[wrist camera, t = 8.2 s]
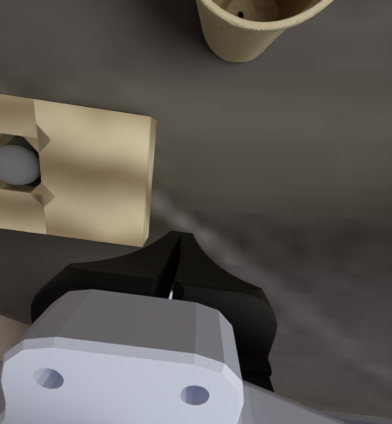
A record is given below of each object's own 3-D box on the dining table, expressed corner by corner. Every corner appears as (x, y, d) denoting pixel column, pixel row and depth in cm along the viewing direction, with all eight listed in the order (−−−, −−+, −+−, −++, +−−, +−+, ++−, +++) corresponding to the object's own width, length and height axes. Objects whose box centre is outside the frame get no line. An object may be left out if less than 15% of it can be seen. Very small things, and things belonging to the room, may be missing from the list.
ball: (49, 179, 21) (38, 190, 18) (5, 179, 20) (-14, 189, 17) (42, 144, 20) (30, 149, 17) (-5, 141, 18) (-28, 145, 15)
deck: (148, 236, 22) (142, 247, 20) (-7, 216, 22) (-31, 223, 19) (156, 120, 19) (150, 116, 16) (-29, 93, 18) (-62, 84, 16)
